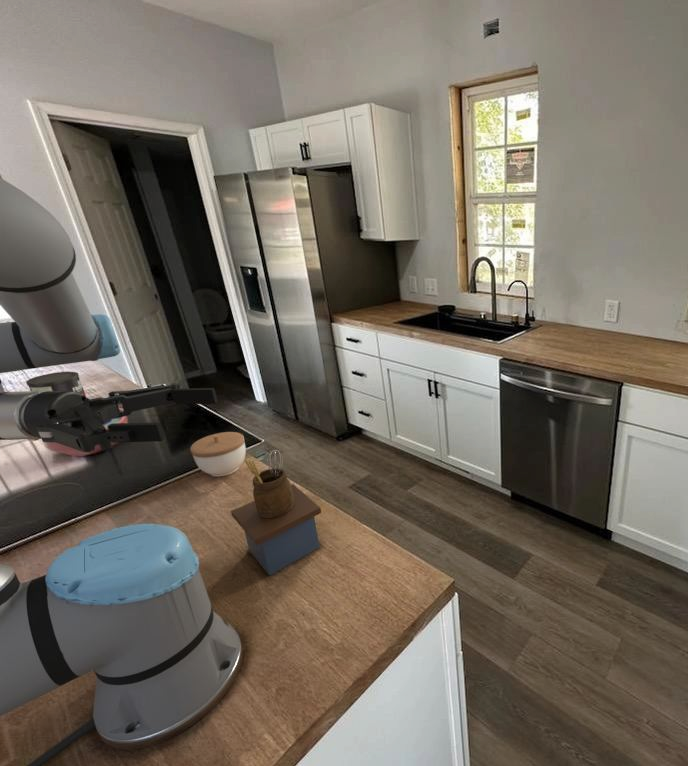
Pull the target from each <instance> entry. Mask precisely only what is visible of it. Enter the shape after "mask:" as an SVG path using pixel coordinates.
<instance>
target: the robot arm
mask: <svg viewBox="0 0 688 766" xmlns="http://www.w3.org/2000/svg"><path fill="white" fill-rule="evenodd" d="M76 265H77V255H76V250H75V248H74V245H73V242H72V240H71V238H70V236H69V234H68V233H67V231H66V229H65V228H64V227H63V225H62V223H60V221H59V220H58V219H56V217H55V216H54V214H52V213H51V212H50V211H49V210H47V208H45V207H44V206H43V205H41V204H40V203H39V202H38V201H37V200H35V199H33V197H31V196H30V195H28V194H27V193H26V192H25V191H23V190H22V189H20V188H19V187H16V186H15V185H13V184H12V183H10V182H8V181H7V180H5V179H3V178H1V177H0V307H1V308H2V309H3V310H4V311H5V312H6V314H7V315H8V316H9V317H10V318H11V319H12V320H13V321H8V322H6V321H5V322H0V374H4V373H10V372H11V373H12V372H17V371H25V370H33V369H40V368H47V367H53V366H62V365H70V364H77V363H85V362H97V361H99V360H102V359H108V358H112V357H113V358H114V357H116V356H118V355H119V354H120V353H121V348H120V345H119V342H118V338H117V335H116V333H115V330H114V327H113V324H112V321H111V318H110V317H109V316H108V315H106V314H103V313H100V314H91V312H90V310H89V308H88V305H87V303H86V301H85V299H84V296H83V294H82V292H81V290H80V287H79V285H78V283H77V280H76V278H75V276H74V274H73V272H74V270H75V268H76ZM107 394H108V397H102V396H101V397H95V398H88V397H87V396H86V397H85V396H84V395H82V394H80V393H78V392H74V391H30V390H28V391H27V390H26V391H22V390H21V391H6V390H5V389H4V386H3V384H2V379H1V378H0V441H12V440H14V441H16V440H31V441H33V442H35V441H36V442H37V441H39V440H41V441H42V443H43V442H56V443H59V444H62V445H65V446H68V447H70V448H73V449H76V450H79V451H82V452H90V451H93V450H94V449H95V447H94V446H96V445H98V444H99V446H100V448H101V450H103V451H108V450H110V449H112V448H113V446H112V445H111V442H114V443H115V442H119V443H147V442H150V443H151V442H163V441H165V440H166V436H165V434H164V431H163V430H164V429H163V428H162V423H161V422H160V421H159V422H157V421H156V422H128V423H112V424H110V425H108V429H109V430H106V429H105V427H104V426H103V425H102V424H105V423H107V422H108V421H110V420H111V419H115V418H119V417H124V416H127V417H128V416H130V415H131V414H132V413H133V412H138V411H142V410H146V409H147V410H148V409H151V408H156V407H161V406H164V405H169V404H175V405H215V404H217V403H218V402H219V401H218V397H217V393H216V390H215V388H214V387H200V388H199V387H194V388H192V387H191V388H182V386H181V384H180V383H175V382H171V384H166V385H165V384H164V385H158V386H151V387H143V388H137V389H128V390H115V391H112V390H111V391H109V392H108V393H107ZM119 408H122V409H123V411H122V412H120V410H119ZM199 567H200V560H199V556H198V554H197V553H196V552H195V551H194V549H193V547H192V545H191V543H190V540H189V538H188V537H187V535H186V534H185V533H184V532H182V531H181V530H180V529H178V528H176V527H174V526H171V525H167V524H159V523H158V524H157V523H138V524H130V525H125V526H120V527H115V528H111V529H108V530H105V531H102V532H99V533H96V534H94V535H91V536H89V537H86V538H84V539H83V540H80V541H79V542H78V543H77V546H73V547H72V546H71V547H68V548H67V549H65V550H64V551H63V552H61V553H60V554H59V555H58V556H56V558H54V560H53V561H52V562H51V564H50V565H49V566H48V569H47V573H46V574H44V575H42V576H39V577H36V578H33V579H30V580H28V581H25V582H21V581H20V580H19V577H18V576H17V574H16V571H15V569H14V568H13V567H12V566H11V565H9V564H1V563H0V717H2V716H5V715H6V714H8V713H10V712H12V711H14V710H16V709H18V708H21V707H22V706H24V705H26V704H28V703H30V702H32V701H34V700H36V699H38V698H40V697H42V696H43V695H46V694H48V693H50V692H53V691H54V690H56V689H58V688H60V687H62V686H64V685H66V684H68V683H69V682H72V681H74V680H76V679H78V678H79V677H82V676H84V675H86V674H88V673H90V672H92V671H93V672H94V674H95V676H96V682H95V690H94V701H93V710H92V713H93V714H92V718H91V719H90V720H89V721H88V722H86V723H84V724H83V725H82V726H80V727H79V728H78V729H76V730H74V731H73V732H72V733H71V734H69V735H68V736H66V737H65V738H63V739H62V740H60V741H59V742H58V743H56V744H55V745H54V746H52V747H50V749H48V750H46V751H45V752H43V753H42V754H41V755H39V756H37V758H36V759H34V760H33V761H32V762H30V763H28V764H27V765H26V766H43V765H44V764H46V763H47V762H49V761H50V760H52V759H53V758H54V757H56V756H58V754H60V753H61V752H62V751H64V750H65V749H66V748H68V747H70V746H71V745H73V744H74V743H75V742H77V741H78V740H79V739H80V738H81V737H83V736H85V735H86V734H88V733H89V732H90V731H92V730H93V729H94V728H95V730H96V733H97V734H98V736H99V738H100V739H101V740H102V742H103V743H104V744H105V745H107V746H109V747H111V748H113V749H117V750H122V751H123V750H124V751H128V750H132V751H133V750H139V749H140V750H141V749H144V748H148V747H151V746H155V745H158V744H160V743H162V742H165V741H168V740H169V739H171V738H173V737H175V736H177V735H179V734H181V733H182V732H184V731H185V730H187V729H189V728H190V727H192V726H193V725H194V724H196V723H197V722H199V721H200V720H201V719H203V718H204V717H205V716H206V715H207V714H208V713H210V711H211V710H212V709H214V708H215V706H217V704H218V703H219V702H220V701H221V700H222V699H223V698H224V696H225V695H226V694H227V692H228V691H229V690H230V689H231V688H232V685H234V682H235V681H236V679H237V677H238V675H239V673H240V670H241V668H242V664H243V659H244V648H243V645H242V642H241V638H240V635H239V633H238V631H237V630H236V629H235V628H234V627H233V626H232V625H231V624H230V623H229V622H227V620H226V621H225V619H224V618H222V616H221V615H218V613H216V612H215V611H214V609H213V607H212V604H211V600H210V598H209V597H210V596H209V594H208V591H207V589H206V585H205V583H204V580H203V577H202V574H201V571H200V568H199Z"/></svg>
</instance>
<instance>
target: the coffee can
mask: <svg viewBox="0 0 688 766" xmlns="http://www.w3.org/2000/svg"><path fill="white" fill-rule="evenodd" d="M79 375H80V374H79V373H78V372H77V371H59V372H51V373H46V374H42V375H38V376H34V377H32V378H29V379H27V380H26V381H25V383H26V385H27V386H28V388H29V391H74V392H78V393H80V394H82V395H84V396H85V397H87V395H86V391H85V390H84V387H83V384H82V382H81V379H80V376H79Z"/></svg>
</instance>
